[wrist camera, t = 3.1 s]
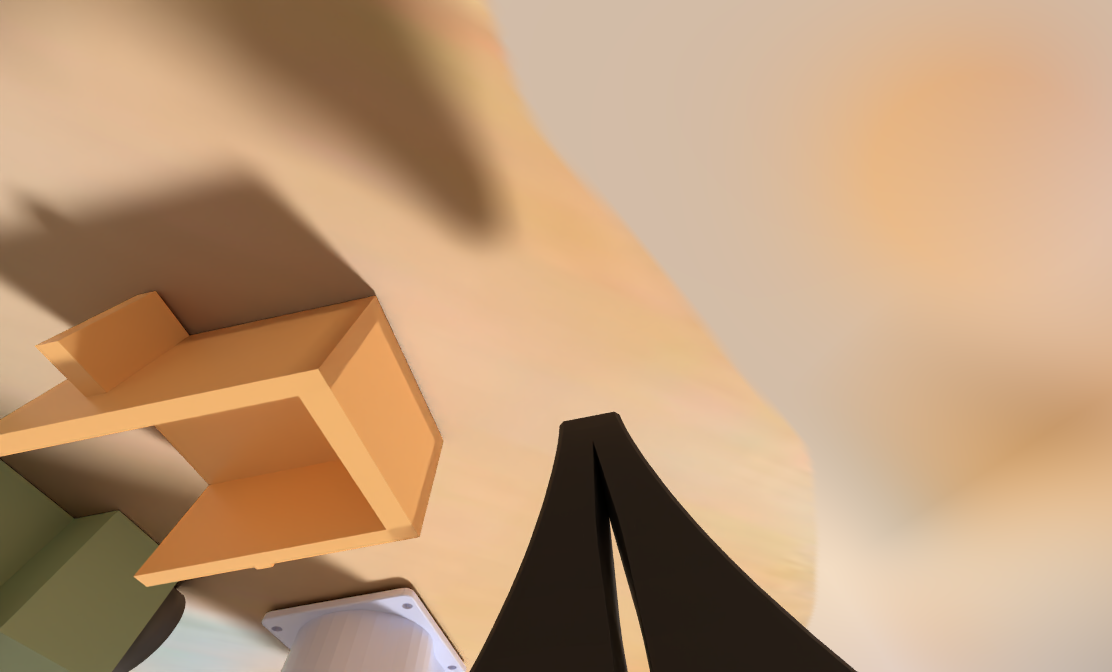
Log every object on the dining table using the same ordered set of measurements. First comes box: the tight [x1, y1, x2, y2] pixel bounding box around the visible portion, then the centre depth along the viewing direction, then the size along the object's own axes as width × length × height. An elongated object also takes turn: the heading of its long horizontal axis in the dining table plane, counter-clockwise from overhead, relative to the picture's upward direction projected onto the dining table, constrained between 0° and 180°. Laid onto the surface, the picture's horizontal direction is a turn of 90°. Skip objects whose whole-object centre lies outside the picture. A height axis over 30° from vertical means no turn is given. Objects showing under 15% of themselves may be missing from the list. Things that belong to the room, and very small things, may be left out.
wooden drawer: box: [0, 291, 443, 587], centre depth 13 cm, size 10×9×4 cm
